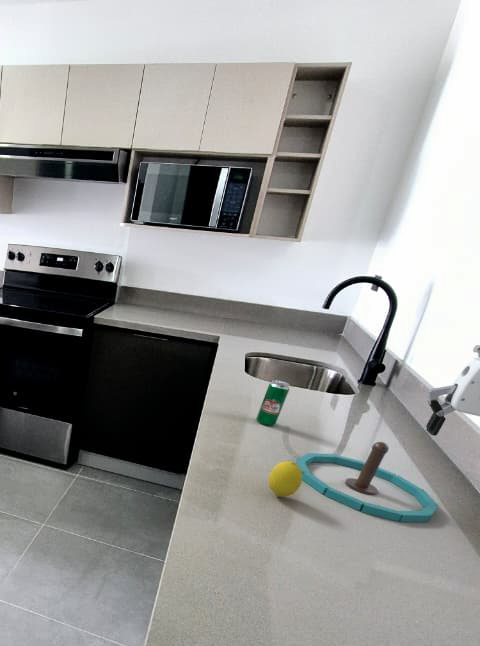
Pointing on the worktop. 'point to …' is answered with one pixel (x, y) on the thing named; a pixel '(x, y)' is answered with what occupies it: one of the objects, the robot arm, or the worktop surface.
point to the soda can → (273, 402)
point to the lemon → (285, 479)
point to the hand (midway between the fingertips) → (458, 439)
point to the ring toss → (369, 470)
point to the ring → (365, 507)
